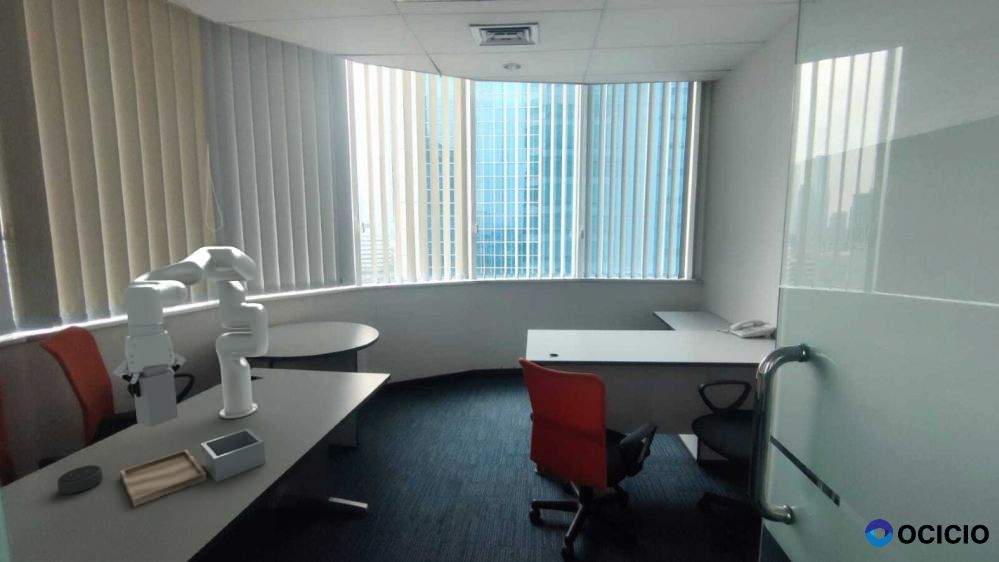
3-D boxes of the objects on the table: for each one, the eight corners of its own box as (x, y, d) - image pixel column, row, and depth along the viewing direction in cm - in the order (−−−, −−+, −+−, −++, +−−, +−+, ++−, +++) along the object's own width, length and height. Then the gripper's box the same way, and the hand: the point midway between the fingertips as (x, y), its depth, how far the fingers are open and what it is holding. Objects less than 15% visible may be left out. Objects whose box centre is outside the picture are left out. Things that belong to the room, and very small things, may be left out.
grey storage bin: (202, 465, 130) (200, 443, 129) (249, 448, 140) (248, 428, 139) (216, 482, 122) (214, 458, 121) (265, 463, 132) (263, 441, 131)
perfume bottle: (177, 417, 123) (171, 356, 120) (150, 427, 117) (143, 363, 114) (164, 412, 126) (158, 353, 123) (137, 422, 120) (129, 359, 117)
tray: (120, 477, 124) (120, 470, 124) (187, 455, 136) (186, 449, 136) (134, 506, 111) (133, 499, 111) (206, 479, 123) (205, 473, 123)
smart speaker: (62, 484, 121) (60, 471, 121) (105, 473, 126) (103, 460, 126) (55, 500, 114) (53, 486, 114) (100, 488, 119) (98, 474, 119)
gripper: (181, 322, 127) (187, 380, 129) (102, 333, 114) (110, 397, 116) (188, 326, 122) (194, 386, 124) (106, 338, 109) (115, 405, 111)
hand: (154, 391), depth 120 cm, fingers closed on perfume bottle, 6 cm apart
